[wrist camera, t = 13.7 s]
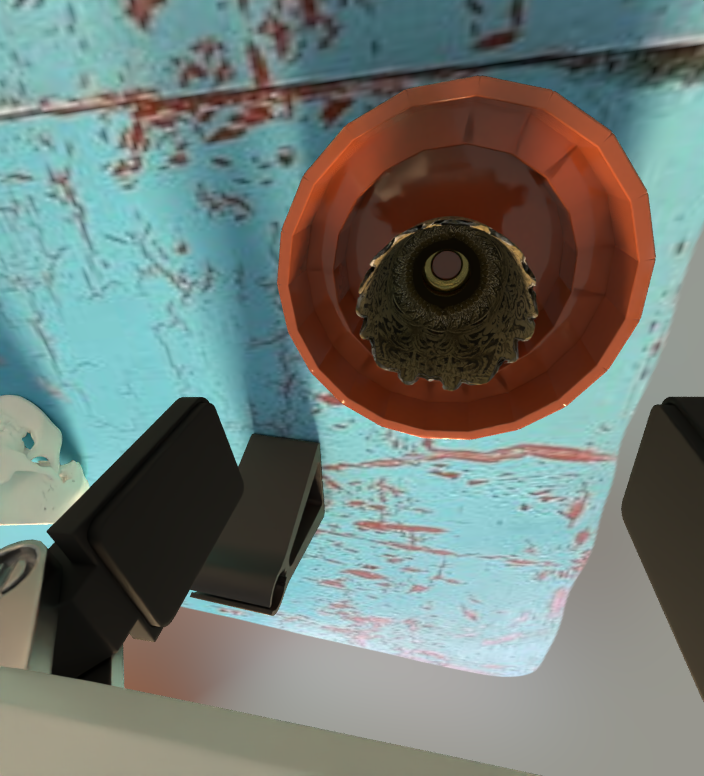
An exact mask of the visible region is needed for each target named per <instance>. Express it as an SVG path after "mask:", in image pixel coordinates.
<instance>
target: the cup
mask: <svg viewBox="0 0 704 776" xmlns="http://www.w3.org/2000/svg"><path fill="white" fill-rule="evenodd" d="M444 251H451V252H454V253H456V254H457V255H458V256H459V258H460V260H461V269H460V271H459V273H458V274H457V275H456V276H455V277H454V278H452V279H448V280H444V279H440V278H438V277H437V276H436V275H435V274H434V272H433V269H432V264H433V261H434V259H435V257H436V256H437V255H438V254H440V253H441V252H444ZM370 265H371V268H370V269H369V270H368V271H367V272H366V274H365V277H364V279H363V281H362V282H361V284H360V287H359V295H360V296H359V297H358V300H357V305H356V313H357V315H358V316H360V317H362V318H364V320H363V324H362V327H361V329H360V333H359V334H360V336H361V338H362V339H366V340H368V341H369V340H370V343H371V349H372V355H373V358H374V360H375V362H376V364H377V366H379V367H380V368H382V369H384V370H387V371H391V372H396V373H398V378H399V379H400V380H401V381H402V382H403V383H404V384H405V385H413V384H414V383H415V382H417V381H418V379H419V378H425V379H426V380H427V381H433V380H438V381H441V383H442V384H443V386H442V387H443V389H444V390H449V391H454V390H456V389H458V388H459V387H460V386H461V384H462V383H465V384H468V385H480V384H485V383H488V382H489V381H490V380H491V379H492V378H493V377H494V376H495V374H496V373H497V372H498V370H499V368H500V366H501V365H502V364H503V362H504V361H508V362H507V363H513V362H516V361H517V359H518V358H519V353H518V341H528V340H529V339H530V338H531V337H532V335H533V333H534V329H535V322H534V320H533V319H536V317H537V316H538V314H539V313H538V306H537V302H536V293H535V291H534V290H533V287H534V286H536V278H535V276H534V274H533V272H532V271H531V269H530V268H529V267H528V265H527V262H526V260H525V256H524V254H523V253H522V251H521V250H520V249H519V248H518V247H517V246H516V245H515V244H514V243H513V242H511V241H510V240H509V239H508V238H506V237H505V236H504V235H502V234H500V233H499V232H497V231H495V230H493V229H492V228H491V227H489V226H487V225H485V224H483V223H481V222H479V221H476V220H473V219H469V218H465V217H458V216H444V217H438V218H433V219H430V220H427V221H424V222H422V223H419V224H417V225H415V226H413V227H412V228H410V229H408V230H406V231H404V232H402V233H400V234H398V235H397V236H395V237H394V238H393V239H392V240H391V241H390V242H389V243H388V244H387V245H386V246H385V247H384V248H383V249H382V250H381V251H379V252H378V253H377V254H376V255H375V256H374V258H373V259H372V260H371V262H370ZM367 338H368V339H367ZM418 377H419V378H418ZM416 378H417V379H416Z"/></svg>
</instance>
